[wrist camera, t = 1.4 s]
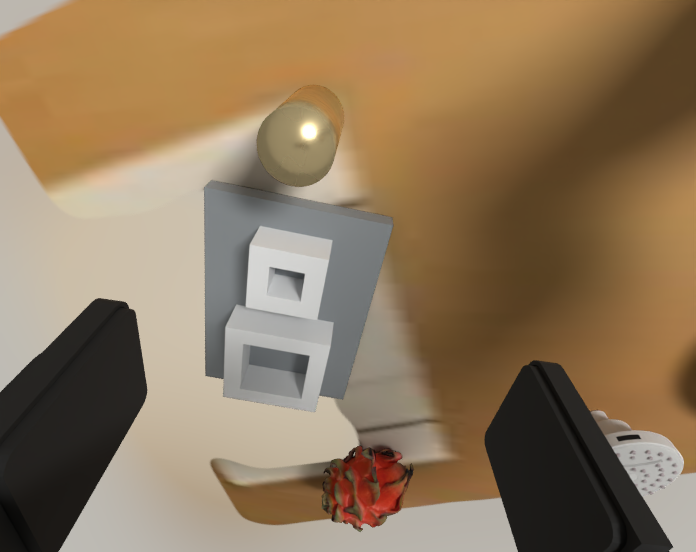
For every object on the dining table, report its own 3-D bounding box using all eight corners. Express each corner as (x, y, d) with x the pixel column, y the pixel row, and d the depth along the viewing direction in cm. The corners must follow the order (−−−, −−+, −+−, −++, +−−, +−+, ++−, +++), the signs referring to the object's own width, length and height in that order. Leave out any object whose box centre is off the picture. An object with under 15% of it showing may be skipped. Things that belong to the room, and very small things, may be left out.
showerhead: (575, 517, 39) (579, 460, 34) (547, 451, 45) (547, 393, 40) (680, 509, 37) (702, 448, 32) (637, 441, 43) (649, 380, 38)
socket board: (211, 180, 29) (187, 203, 26) (392, 217, 30) (395, 244, 26) (210, 364, 40) (194, 400, 36) (343, 388, 41) (340, 424, 37)
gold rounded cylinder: (289, 78, 25) (259, 98, 19) (349, 92, 26) (341, 116, 19) (282, 140, 27) (254, 178, 21) (338, 152, 28) (328, 193, 21)
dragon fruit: (318, 454, 50) (399, 416, 48) (348, 518, 49) (433, 482, 47) (293, 485, 42) (390, 441, 40) (329, 563, 41) (431, 521, 39)
